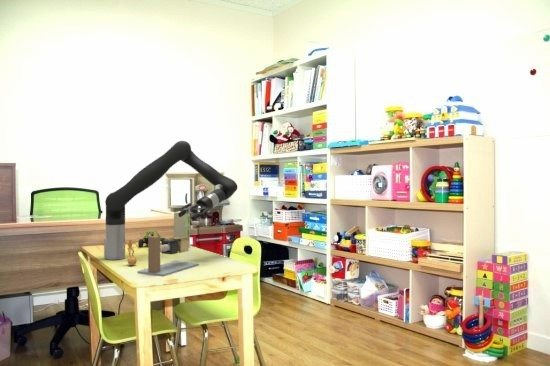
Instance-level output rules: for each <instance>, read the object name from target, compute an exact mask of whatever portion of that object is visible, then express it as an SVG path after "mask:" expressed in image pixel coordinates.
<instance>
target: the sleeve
mask: <svg viewBox="0 0 550 366" xmlns="http://www.w3.org/2000/svg"><path fill="white" fill-rule="evenodd" d="M168 240H178V241H179V248H177V253H176V254H182V253H186V252H189V248H188V237H174V236H172V237H168Z"/></svg>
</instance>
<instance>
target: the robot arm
mask: <svg viewBox="0 0 550 366" xmlns="http://www.w3.org/2000/svg"><path fill="white" fill-rule="evenodd" d="M180 161H181V162H183V163H185V164H186V165H188V166H189V167H190V168H192V169H194V170H195V172H198V174H199V175H201V176H202V177H203V178H204V179H206V181H207V182H209V183H210V184H211V185H212V186H214V187H215V186H217V185H221V187H220V188H216V189H214V190H212V191H211V192H209V193H207V194H204V196H202V197H201V198H199V199H197V201H196V203H195V204H192V203H191V202H188V203H187V204H186V205H184V206H182V207H181V212H179V213H178V215H179V217H182V216H183V215H185V214H187V213H189V214H190V215H191V214H193V215H191V216H190V220H191V221H196V220H197V219H200V218H202V219H204V218H206V217H207V216H208V215H210V214H211V210H212V209H214V208H216V206H217V205H219V204H221V203H222V202H224V201H226V200H228V199H230V198H231V197H232V196H233V195H234V194H235V192H236V191H237V190H238V184H237V182H236V181H234V179H232V178H230V177H227V176H225V175H223V174H221V173H220V172H219V171H218V170H217V169H216V168H214V167H213V166H211V165H210V164H208V163H207V162H205V161H204V160H202V158H199V157H198V156H197V155H196V154H195V153H194V151H192V148H191V144H190V143H189V142H188V141H186V140H178V141H177V142H175V143H174V144H173V145H172V146H171V147H170V148H169V149H168V150H167V151H165V152H164V153H163V154H162V155H161V156H159V157H158V158H156V159H155V160H153V161H152V162H150V163H149V164H148V165H146V166H145V167H143V168H142V169H140V170H139V171H138V172H137V173H136V174H135V175H133V177H132V178H131V179H130V180H129V181H128V182H126V184H125V185H122V186H121V187H120V188H118V189H117V190H115V191H113V192H110V193H109V194H108V195H107V196H106V198H105V201H104V202H105V238H104V240H103V250H104V251H103V255H104V257H103V258H104V259H106V260H109V261H113V260H114V261H115V260H123V259H126V245H124V244H125V243H126V205H127V204H128V203H129V202H130V201H131V200H133V198H135V196H137V195H138V194H141V193H143V192H144V191H145V190H147V189H148V188H150V187H151V186H153V185H154V184H155V183H157V182H158V181H160V179H161V178H162V177H164V175H165V174H166V173H167V172H168V171H169V170H170V169H171V168H172V167H173V166H174V165H176V164H177V163H178V162H180ZM186 211H187V212H186ZM123 245H124V248H123ZM122 249H124V250H123V251H122Z"/></svg>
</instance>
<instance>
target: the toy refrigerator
mask: <svg viewBox="0 0 550 366" xmlns="http://www.w3.org/2000/svg"><path fill="white" fill-rule="evenodd" d="M181 211H182V210H181ZM181 211H180V210H178V211H174V213H173V237H188V241H189V245H188V249H189V248H190V247H191V245H190V244H191V242H190V240H191V230H190V229H191V223H190V222H191V214H189V213H187V214H185V215H183V216H182V217H179V215H178V213H179V212H181ZM187 211H188V210H187ZM187 211H186V212H187Z"/></svg>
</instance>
